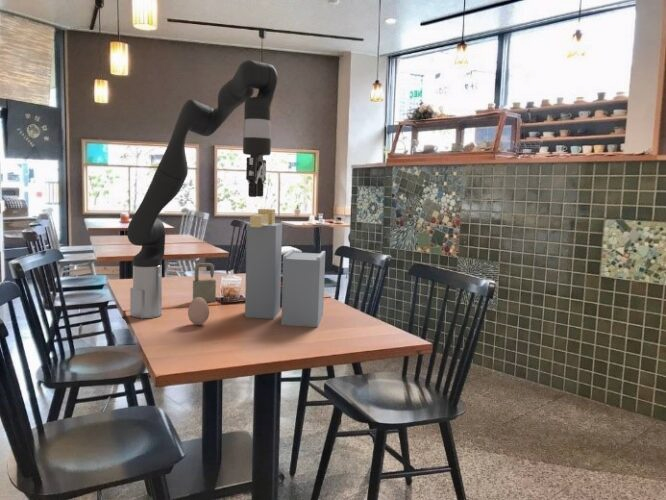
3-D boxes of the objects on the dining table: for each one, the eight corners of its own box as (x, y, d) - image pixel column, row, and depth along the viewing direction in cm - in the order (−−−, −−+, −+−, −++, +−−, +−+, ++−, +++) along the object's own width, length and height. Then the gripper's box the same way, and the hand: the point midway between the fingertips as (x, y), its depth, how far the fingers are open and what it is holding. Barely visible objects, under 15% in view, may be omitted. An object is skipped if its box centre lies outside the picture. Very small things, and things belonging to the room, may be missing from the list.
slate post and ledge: (317, 327, 178) (321, 229, 174) (239, 322, 180) (241, 226, 176) (323, 313, 197) (326, 225, 194) (252, 309, 199) (254, 222, 196)
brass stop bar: (263, 227, 174) (263, 211, 174) (247, 226, 175) (248, 211, 174) (274, 223, 194) (275, 209, 194) (260, 222, 195) (261, 208, 194)
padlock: (216, 301, 210) (216, 263, 208) (195, 303, 206) (195, 264, 204) (212, 299, 214) (213, 261, 212) (192, 301, 210) (192, 262, 208)
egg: (188, 328, 171) (188, 299, 170) (187, 322, 178) (187, 295, 177) (209, 327, 173) (209, 299, 172) (208, 322, 179) (208, 294, 178)
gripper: (265, 135, 142) (264, 197, 144) (275, 139, 156) (274, 196, 158) (237, 134, 142) (236, 196, 144) (249, 139, 156) (248, 195, 158)
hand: (256, 196), depth 151 cm, fingers open, 8 cm apart
